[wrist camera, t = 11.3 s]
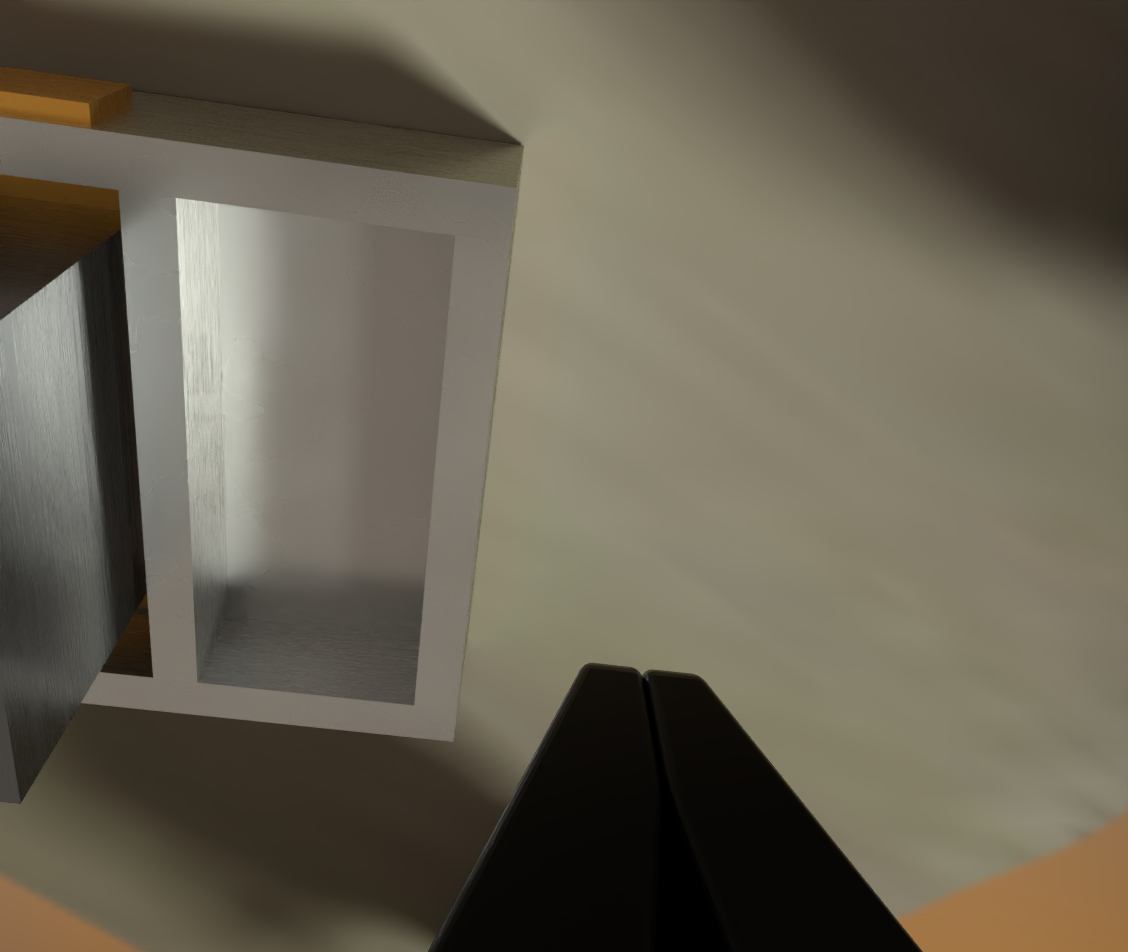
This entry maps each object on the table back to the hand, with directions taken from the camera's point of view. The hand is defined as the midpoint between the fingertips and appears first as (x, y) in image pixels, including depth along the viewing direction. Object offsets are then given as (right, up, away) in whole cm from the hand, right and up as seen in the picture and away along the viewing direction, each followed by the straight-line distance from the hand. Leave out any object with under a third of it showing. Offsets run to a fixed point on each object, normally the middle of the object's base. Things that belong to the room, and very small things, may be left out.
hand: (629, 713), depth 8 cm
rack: (-9, +4, +12) cm, 16 cm away
